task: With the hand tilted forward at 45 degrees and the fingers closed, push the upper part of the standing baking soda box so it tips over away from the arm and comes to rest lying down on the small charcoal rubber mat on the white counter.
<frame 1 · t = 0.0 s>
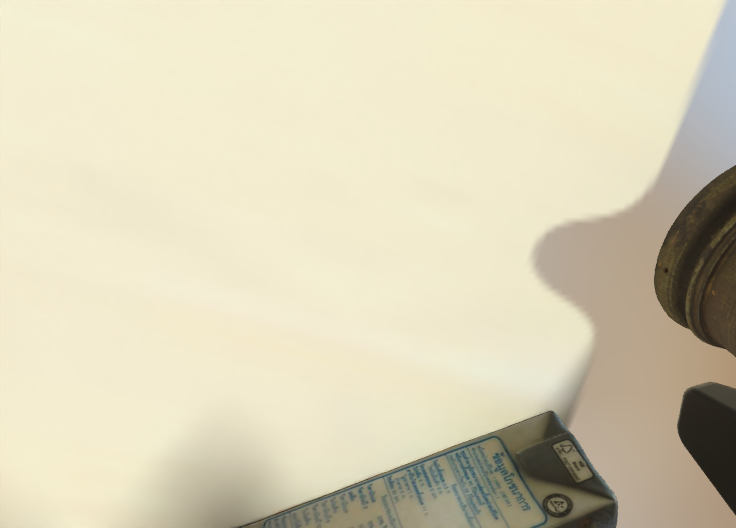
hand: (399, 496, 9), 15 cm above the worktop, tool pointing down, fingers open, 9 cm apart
weathered rectangular box: (391, 509, 34), on the worktop
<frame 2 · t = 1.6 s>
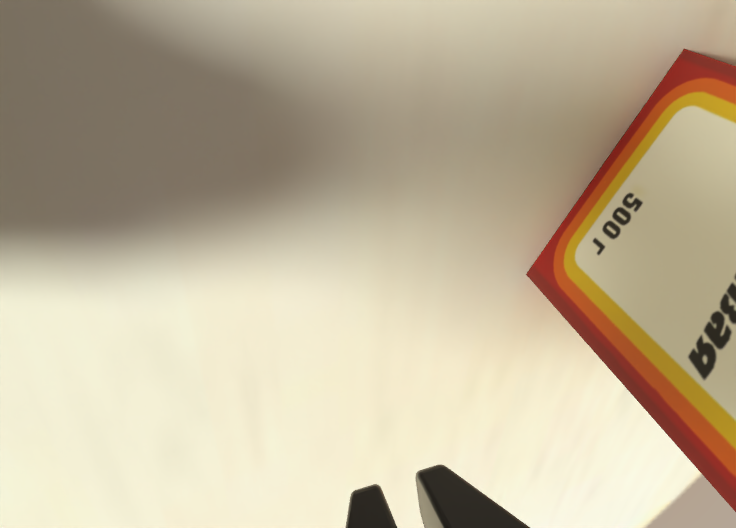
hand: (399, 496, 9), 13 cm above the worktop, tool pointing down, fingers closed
baking soda box: (653, 198, 25), on the worktop
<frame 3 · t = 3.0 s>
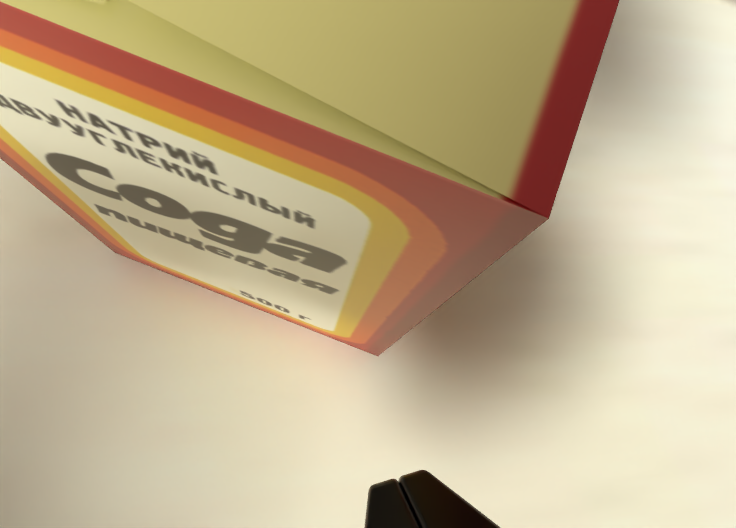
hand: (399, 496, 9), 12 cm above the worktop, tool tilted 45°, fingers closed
baking soda box: (284, 219, 22), on the worktop
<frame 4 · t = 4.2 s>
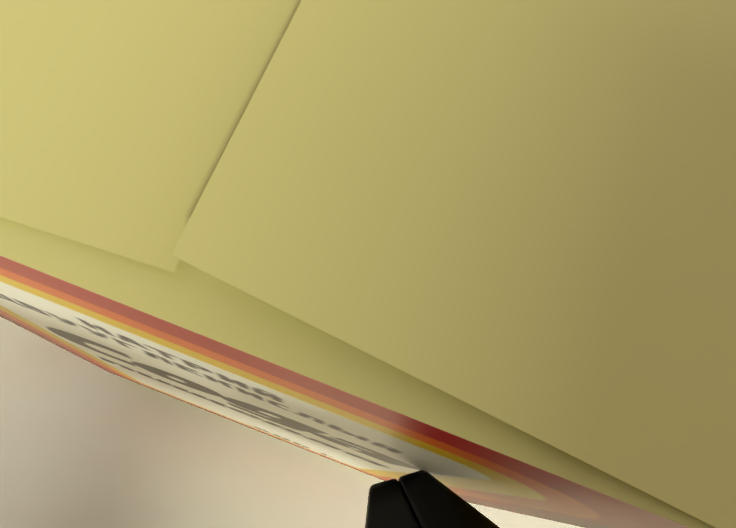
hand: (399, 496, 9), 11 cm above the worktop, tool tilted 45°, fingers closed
baking soda box: (298, 331, 20), on the worktop, touching gripper
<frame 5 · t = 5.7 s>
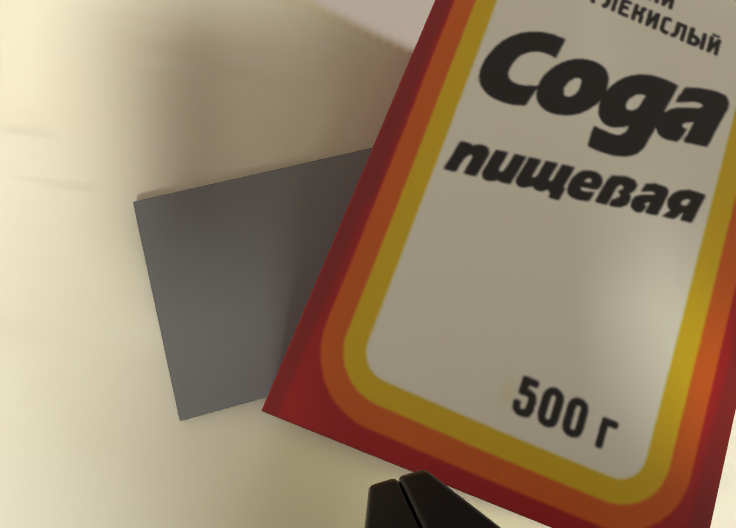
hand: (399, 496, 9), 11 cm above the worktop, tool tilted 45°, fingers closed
mat: (283, 277, 20), on the worktop
baking soda box: (440, 491, 16), point 4 cm above the worktop, touching mat
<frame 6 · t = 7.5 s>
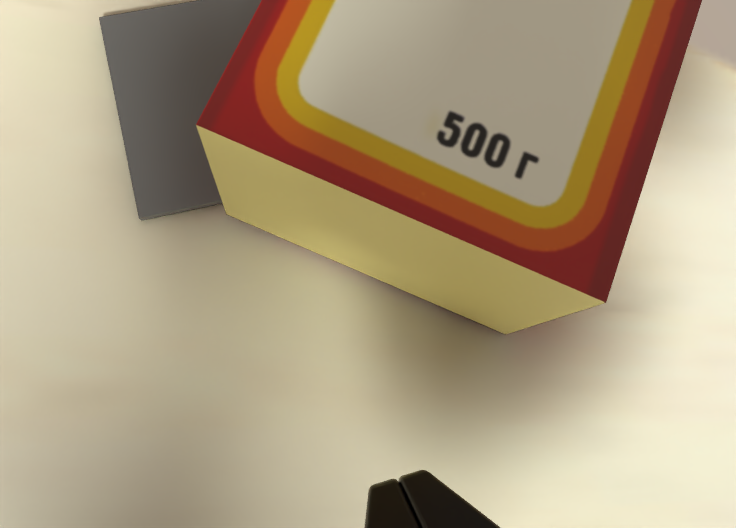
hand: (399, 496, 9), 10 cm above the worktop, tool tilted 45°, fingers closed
mat: (244, 94, 21), on the worktop
baking soda box: (378, 257, 17), point 4 cm above the worktop, touching mat
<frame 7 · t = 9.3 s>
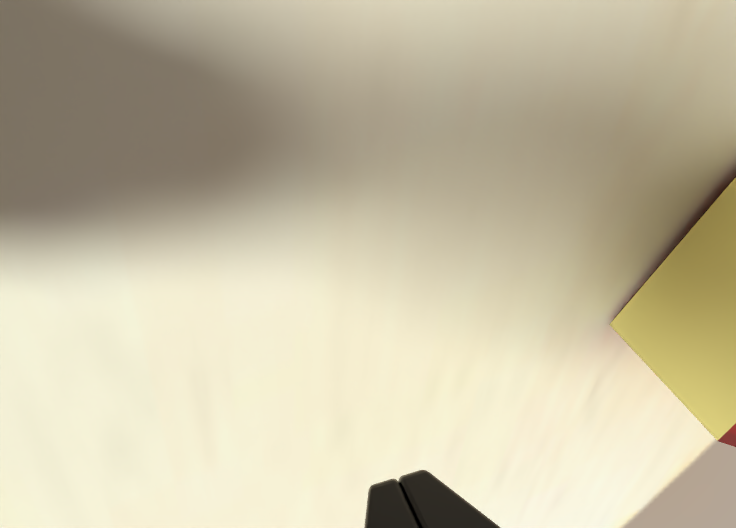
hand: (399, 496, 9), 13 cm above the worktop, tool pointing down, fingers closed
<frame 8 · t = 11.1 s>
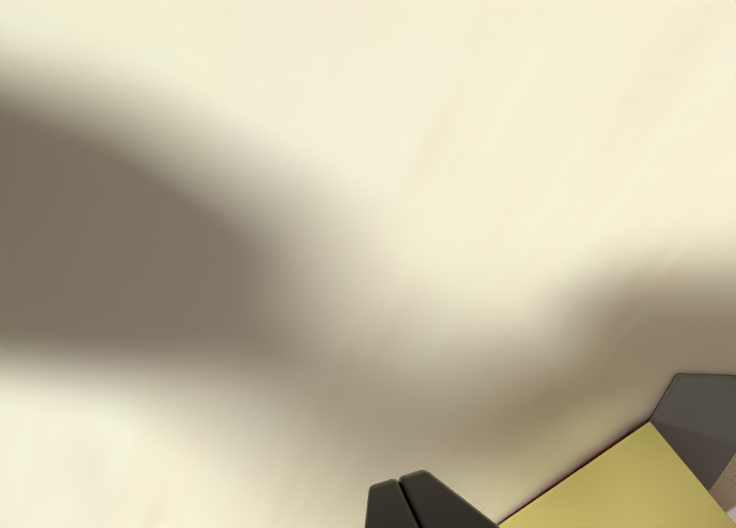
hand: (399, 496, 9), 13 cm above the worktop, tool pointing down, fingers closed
mat: (692, 434, 33), on the worktop
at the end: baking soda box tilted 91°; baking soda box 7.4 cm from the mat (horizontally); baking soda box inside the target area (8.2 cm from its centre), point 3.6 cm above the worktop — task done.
